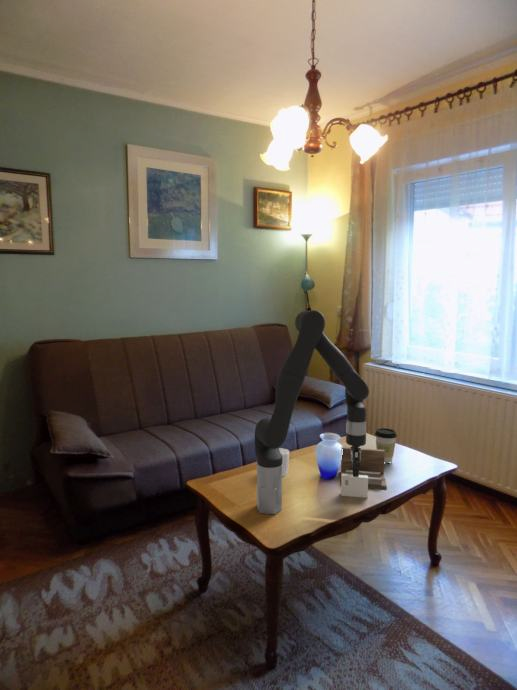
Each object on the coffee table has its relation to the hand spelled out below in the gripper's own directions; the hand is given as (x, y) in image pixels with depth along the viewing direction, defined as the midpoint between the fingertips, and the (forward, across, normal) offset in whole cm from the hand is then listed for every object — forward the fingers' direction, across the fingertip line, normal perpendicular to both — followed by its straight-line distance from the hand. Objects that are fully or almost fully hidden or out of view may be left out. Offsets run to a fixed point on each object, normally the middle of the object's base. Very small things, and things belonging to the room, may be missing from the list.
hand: (355, 472), depth 172 cm
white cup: (+9, +15, +31) cm, 36 cm away
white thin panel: (+9, 0, 0) cm, 9 cm away
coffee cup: (+10, +36, -15) cm, 41 cm away
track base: (+10, +15, -4) cm, 18 cm away
